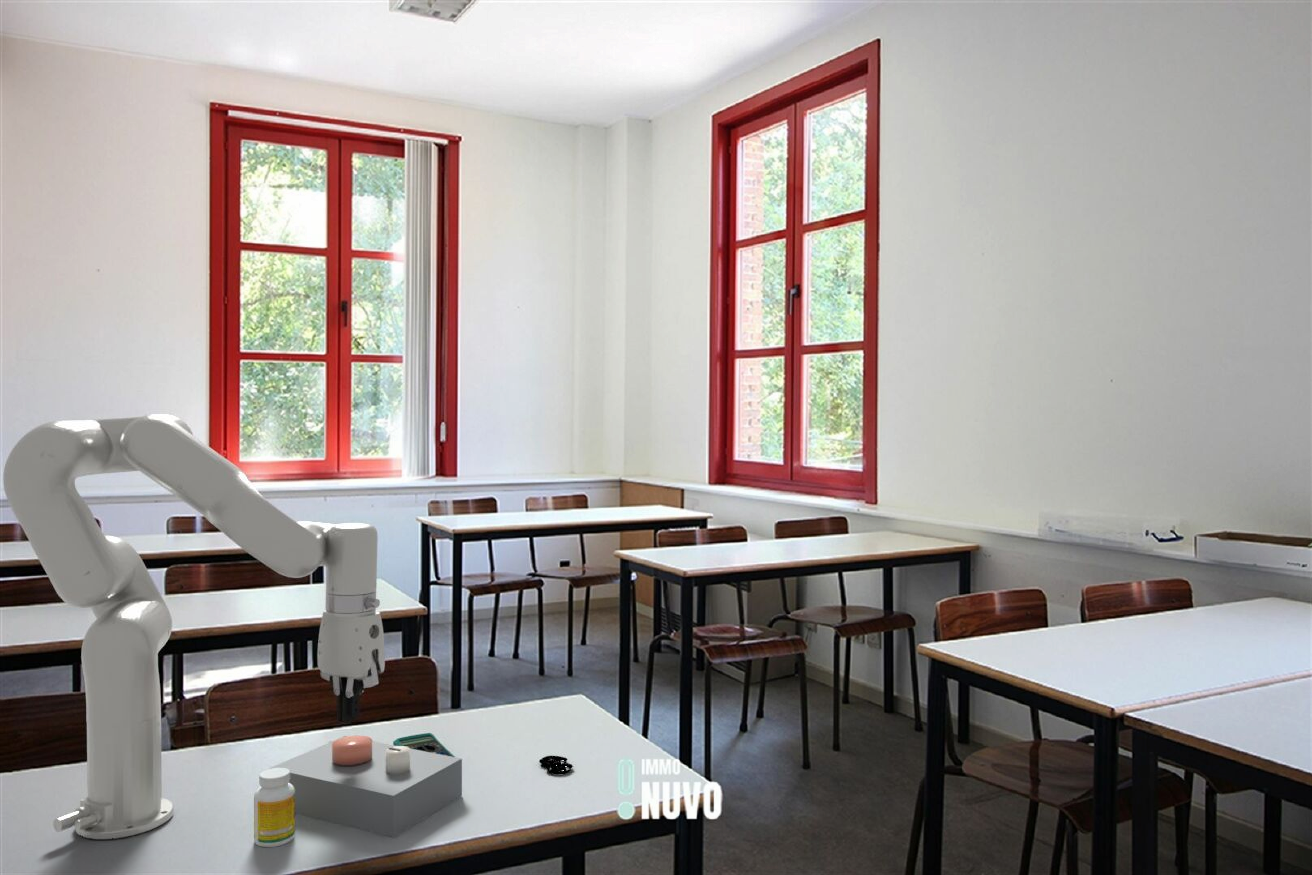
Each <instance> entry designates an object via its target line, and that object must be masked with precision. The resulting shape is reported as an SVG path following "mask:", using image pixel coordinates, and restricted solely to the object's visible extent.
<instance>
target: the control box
mask: <svg viewBox="0 0 1312 875" xmlns="http://www.w3.org/2000/svg"><path fill="white" fill-rule="evenodd" d="M348 736H349V735H347V736H346V735H344V736H342V737H339V738H338V739H340V738H343V737H348ZM335 740H336V739H334V740H332V741H330V742H328V743H325V744H323V745H321V746H318V747H316V748H314V749H311V750H309V751H307V752H306V751H305V753H301V754H300V755H297V756H295V757H293V758H289V759H287V760H286V761H284V762H281V763H279V764H277V765H273V766H271V767H269V769H272V768H286V769H289V771H290V780H289V782H288V783H290V784H292V785H293V786H294V789H295V814H297V815H301V816H305V817H310V818H313V819H317V820H322V821H325V822H331V823H334V824H337V825H343V826H346V827H349V828H354V829H359V830H363V831H366V832H370V833H374V834H379V835H383V836H386V837H392V838H395V837H397V836H399V835H401V833H403V832H405V831H406V830H408V829H410V828H412V827H413V826H415V825H416V824H418V823H420V822H422V821H423V820H425V819H427V818H429V817H430V816H432V815H433V814H435V813H437V812H439V811H440V810H442V809H443V808H445V807H446V806H449V805H450V804H452V803H453V802H456V801H457V800H458V799H459V798H461V797H462V796H463V759H462V758H460V757H456V756H455V757H451V756H446V755H441V754H436V753H430V752H425V751H420V750H415V749H410V770H409V771H407V772H405V773H401V774H389V773H387V772H386V750H387V749H388V748H389V747H395V745H393V744H390V743H389V744H388V743H383V742H378V741H374V740H372V758H371V759H370V760H368V761H366V762H364V763H360V764H355V765H339V764H335V763H334V762H333V761H332V743H333V742H334V741H335Z"/></svg>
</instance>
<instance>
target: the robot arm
mask: <svg viewBox="0 0 1312 875" xmlns="http://www.w3.org/2000/svg"><path fill="white" fill-rule="evenodd" d="M128 472H129V473H130V472H141V473H142V474H143V475H144V476H146V477H148V478H149V479H151V480H152V481H153V482H155V483H156V484H158V485H160V487H163V488H164V489H165V490H167V491H168V492H169V493H171V494H172V495H174V496H176V497H177V498H178V499H179V500H181V501H183V502H184V503H185V504H186V505H188V506H190V507H191V508H192V509H194V510H195V511H196V512H198V513H199V514H200V515H202V517H204V518H205V519H206V520H207V521H208V522H209V523H210V524H212V526H214V527H215V528H217V529H218V530H219V531H220V532H221V533H223V534H224V535H225V536H226V537H227V538H229V539H230V540H231V541H232V542H233V543H234V544H236V545H237V546H238V547H239V548H241V550H244V551H245V552H246V553H248V554H249V555H250V556H252V557H253V558H255V559H256V560H258V561H259V562H261V563H262V564H264V565H265V566H266V567H268V568H270V570H273V571H274V572H276V573H277V574H279V575H281V576H285V577H287V578H292V579H293V578H294V579H296V578H297V579H298V578H299V579H300V578H303V577H306V576H309V575H311V574H313V573H314V572H315V571H316V570H317V569H318V567H325V570H326V572H325V573H326V574H325V608H324V609H325V610H323V612H322V616H321V620H320V626H319V633H318V643H317V666H318V669H319V670H320V677H321V679H323V680H326V681H328V682H329V683H330V684H331V686H332V687H333V693H334V695H335V696H337V704H336V706H337V707H336V708H337V709H336V711H337V712H336V714H337V716H336V720H337V722H339V723H340V722H342V723H344V724H347V723H350V722H353V721H356V720H358V719H359V718H360V709H361V708H360V705H361V703H360V702H361V695H362V694H363V693H364V691H365V690H366V688H372V687H375V686H379V683H380V682H379V674H383V673H384V671H385V667H386V665H385V664H386V660H385V658H386V654H385V634H384V626H383V621H382V616H381V612H380V611H377V608H379V607H380V604H381V601H380V599H378V598H377V580H378V579H377V578H378V577H377V575H378V574H377V573H378V538H379V537H378V530H377V528H376V526H374V525H372V524H368V523H362V522H345V523H338V524H337V523H336V524H335V523H334V524H333V523H324V522H315V521H308V520H302V521H301V520H299V521H296V520H294V519H293V518H291V517H290V516H288V515H287V514H285V513H284V512H283V511H281V510H280V509H279V508H278V507H276V506H275V505H273V503H271V502H270V501H269V500H267V499H266V498H265V497H264V496H263V495H262V494H261V493H260V492H259V491H258V490H257V489H256V487H255V486H254V484H253V483H252V481H251V480H250V477H248V475H247V474H246V473H245V472H244V471H243V470H242V469H241V468H240V467H238V466H237V465H236V464H234V463H233V462H231V461H230V460H228V459H227V458H226V457H224V456H223V455H221V454H220V453H218V452H217V451H215V450H214V449H213V448H212V447H210V446H209V445H207V444H206V443H205V442H203V441H202V440H200V439H199V438H198V437H196V436H195V435H194V434H193V432H192V429H191V428H190V427H189V425H188V424H187V423H186V422H185V421H184V420H182V419H180V418H179V417H177V416H174V415H173V414H172V415H170V414H165V413H153V414H152V413H151V414H146V415H142V416H134V417H117V418H116V417H115V418H100V419H99V418H97V419H77V420H75V419H73V420H68V419H67V420H66V419H65V420H64V419H63V420H53V421H48V422H44V423H42V424H40V425H38V426H36V427H34V428H31V430H29V431H28V432H27V433H26V434H24V435H23V436H22V437H21V439H19V440H18V441H17V442H16V444H15V445H14V447H13V448H12V449H11V451H10V453H9V455H8V457H7V459H6V462H5V465H4V469H3V475H2V476H3V478H2V480H3V481H2V482H3V489H4V493H5V497H6V499H7V503H8V505H9V506H10V508H11V510H12V512H13V514H14V516H15V518H16V519H17V521H18V523H19V525H20V526H21V528H22V530H23V532H24V533H25V534H24V535H25V536H26V538H27V539H28V541H29V543H30V546H31V547H32V550H33V551H34V553H35V555H36V557H37V558H38V560H39V563H40V564H41V566H42V568H43V570H44V571H45V573H46V576H47V577H48V579H49V581H50V583H51V585H52V586H53V589H54V590H55V592H56V594H57V595H58V597H59V598H60V599H62V601H63V602H64V603H67V605H69V606H71V607H74V608H79V609H91V611H92V613H93V614H94V616H95V618H96V619H95V620H94V621H93V623H91V625H90V626H89V628H88V629H87V631H86V633H85V635H84V638H83V641H82V645H81V656H80V658H81V667H82V668H81V669H82V673H83V679H84V680H83V681H84V687H85V688H84V689H85V704H86V706H85V707H86V710H85V711H86V753H87V754H86V757H87V758H86V761H87V763H86V764H87V768H86V770H87V772H86V773H87V777H86V778H87V796H86V797H84V798H82V799H80V801H79V804H80V805H79V807H77V808H75V810H74V811H73V812H71V813H66V814H64V815H61V816H58V817H56V818H54V820H53V822H52V823H53V824H52V826H53V829H54V830H55V832H57V833H60V832H63V831H65V830H68V829H70V828H73V826H74V829H75V833H76V834H77V835H78V836H80V835H81V836H80V837H82V836H83V838H86V839H90V838H91V839H92V840H113V839H120V838H127V837H132V836H135V835H139V834H143V833H145V832H148V831H151V830H154V829H155V828H158V827H160V826H162V825H163V824H165V823H166V822H168V821H169V820H170V819H171V817H173V816H174V804H173V802H172V801H171V800H170V799H166V798H164V797H162V796H163V795H162V794H163V792H162V791H163V789H162V786H163V785H162V773H163V772H162V707H161V706H162V703H161V700H162V698H161V683H160V673H159V666H158V662H159V660H158V657H159V655H158V654H159V652H160V651H161V649H163V647H165V645H166V643H167V642H168V640H169V638H170V637H171V634H172V630H173V629H172V628H173V621H172V615H171V611H170V610H169V608H168V606H167V604H166V601H165V600H164V598H163V597H162V594H161V592H160V591H159V589H158V587H157V586H156V583H155V581H154V580H153V578H152V575H151V574H150V572H149V570H148V568H147V567H146V565H145V563H144V561H143V558H141V556H140V555H139V553H138V552H137V550H136V549H135V548H134V547H133V546H132V545H131V544H130V543H129V542H127V541H126V540H124V539H122V538H120V537H117V536H114V535H108V534H107V535H106V534H104V533H103V531H102V529H101V527H100V526H99V524H98V523H97V520H96V518H95V516H94V514H93V512H92V510H91V508H90V507H89V505H88V504H87V503H86V501H85V500H84V498H83V497H82V496H81V495H80V493H79V492H78V490H77V487H76V484H75V483H76V479H77V478H80V477H86V476H92V475H104V474H114V473H115V474H116V473H117V474H118V473H128ZM112 838H113V839H112Z"/></svg>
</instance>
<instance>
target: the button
mask: <svg viewBox="0 0 1312 875" xmlns="http://www.w3.org/2000/svg"><path fill="white" fill-rule="evenodd" d="M347 736H348V737H344V736H342V737H343V738H341V737H339V738H340V739H339V738H337V739H334V740H335V741H334V740H333V741H334V742H333V743H332V761H333V762H334V763H335V764H339V765H355V764H360V763H364V762H366V761H368V760H370V759H371V758H372V741H373V738H371V737H370V736H366V735H347Z"/></svg>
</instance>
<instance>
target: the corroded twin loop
mask: <svg viewBox="0 0 1312 875" xmlns="http://www.w3.org/2000/svg"><path fill="white" fill-rule="evenodd" d="M551 759H552V760H551ZM560 760H564V761H565V762H564V761H563V762H561V761H560ZM558 761H559V762H558ZM567 761H568V758H567V757H564V756H561V755H560V756H559V755H547V756H546V755H545V756H544V757H543V756H542V757H541V759H539V764H541V765H540V767H543V768H544V769H545V770H546V772H547V773H549V774H551V775H554V774H564V775H566V774H568V773H569V772H570V771H571V770H572V769H573V767H574V766H573V764H572V763H567ZM556 765H557V766H556ZM565 766H567V767H569V768H567V767H565ZM561 770H564V771H561Z"/></svg>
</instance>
